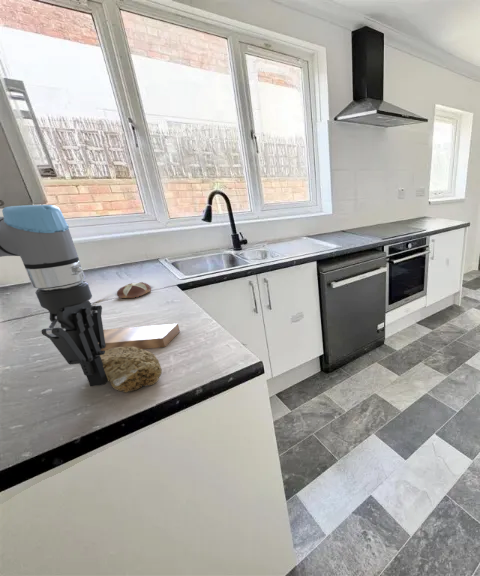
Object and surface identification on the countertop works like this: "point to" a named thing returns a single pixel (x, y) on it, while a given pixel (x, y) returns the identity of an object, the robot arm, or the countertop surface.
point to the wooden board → (140, 336)
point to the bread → (133, 290)
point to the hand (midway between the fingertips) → (99, 383)
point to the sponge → (130, 368)
